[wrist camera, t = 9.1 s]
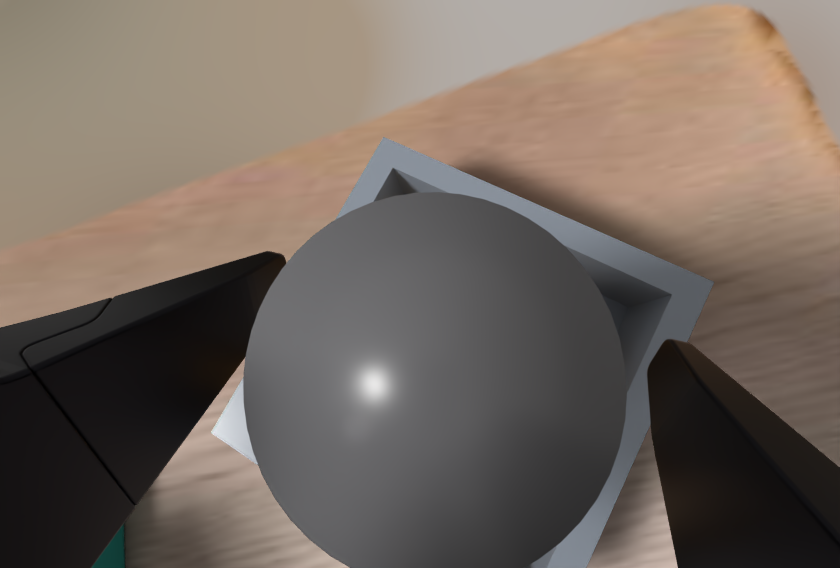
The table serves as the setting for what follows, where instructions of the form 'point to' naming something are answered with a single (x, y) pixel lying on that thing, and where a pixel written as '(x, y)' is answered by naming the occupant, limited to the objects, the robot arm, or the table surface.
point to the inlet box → (611, 272)
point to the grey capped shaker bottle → (434, 386)
